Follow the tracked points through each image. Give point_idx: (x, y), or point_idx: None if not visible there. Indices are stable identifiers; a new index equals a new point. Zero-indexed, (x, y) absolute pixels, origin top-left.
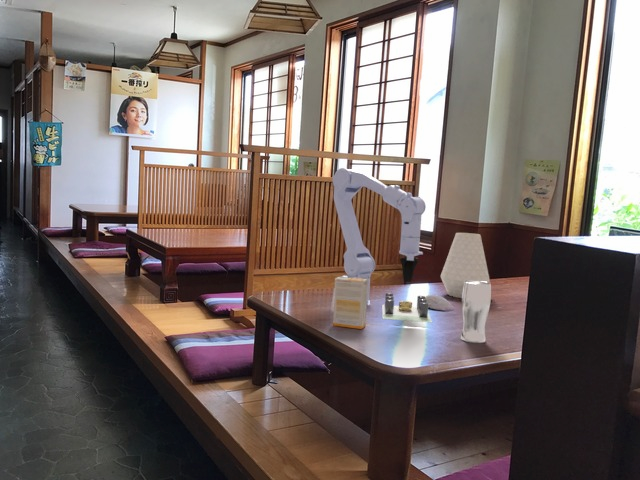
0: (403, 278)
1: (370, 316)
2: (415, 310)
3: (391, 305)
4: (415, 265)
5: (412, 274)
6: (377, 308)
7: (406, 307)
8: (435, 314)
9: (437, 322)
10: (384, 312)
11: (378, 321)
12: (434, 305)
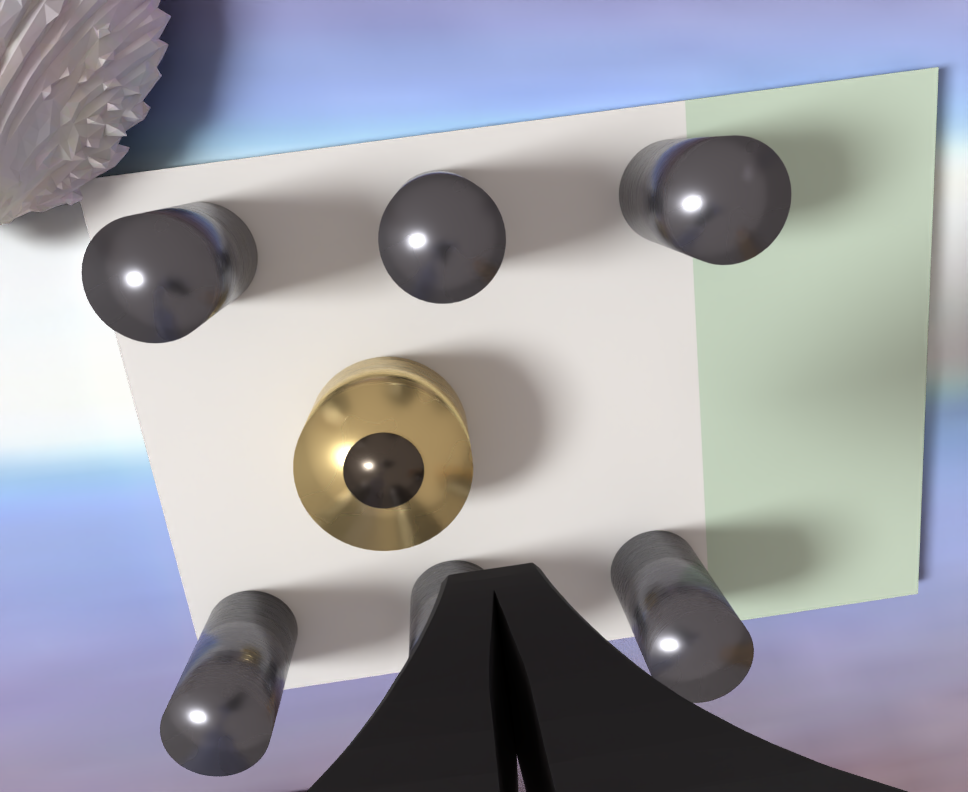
0: (515, 740)
1: (756, 704)
2: (339, 312)
3: (726, 600)
4: (798, 767)
5: (594, 635)
6: (348, 710)
7: (466, 429)
8: (325, 40)
9: (790, 4)
10: (624, 618)
11: (940, 609)
12: (113, 55)
